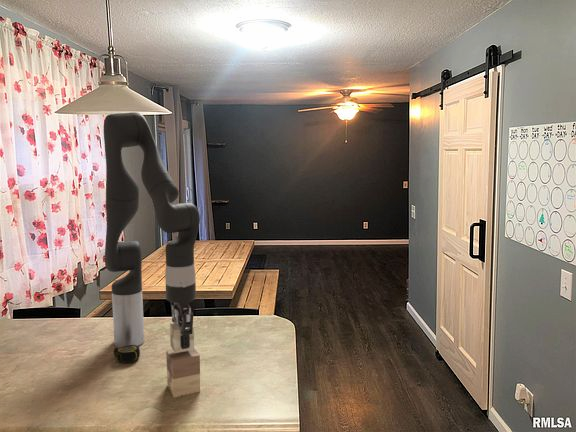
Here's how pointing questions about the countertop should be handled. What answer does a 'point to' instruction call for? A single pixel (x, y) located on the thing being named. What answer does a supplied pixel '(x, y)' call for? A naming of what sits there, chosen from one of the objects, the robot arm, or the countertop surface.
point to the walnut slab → (183, 363)
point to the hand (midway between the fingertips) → (182, 343)
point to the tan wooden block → (183, 384)
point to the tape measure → (127, 353)
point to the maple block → (176, 340)
